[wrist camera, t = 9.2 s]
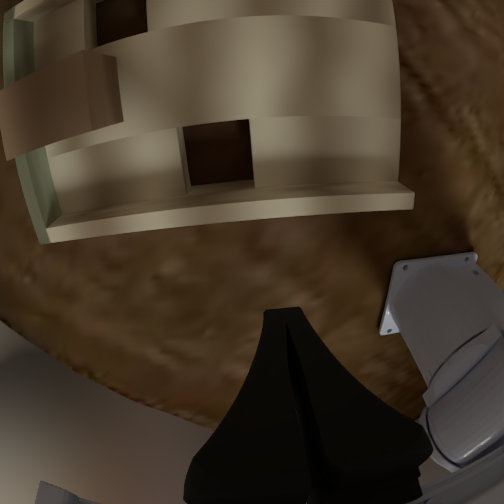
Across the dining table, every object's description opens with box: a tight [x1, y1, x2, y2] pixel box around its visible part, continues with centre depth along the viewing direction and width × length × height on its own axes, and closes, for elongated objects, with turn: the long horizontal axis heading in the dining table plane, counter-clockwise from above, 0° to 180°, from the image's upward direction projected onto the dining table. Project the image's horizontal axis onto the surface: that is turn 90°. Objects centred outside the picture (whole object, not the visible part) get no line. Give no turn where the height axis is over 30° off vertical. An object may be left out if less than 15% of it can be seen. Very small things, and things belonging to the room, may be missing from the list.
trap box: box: [3, 0, 415, 244], centre depth 13 cm, size 23×16×4 cm
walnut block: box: [0, 50, 124, 161], centre depth 12 cm, size 6×4×4 cm, turn 94°
